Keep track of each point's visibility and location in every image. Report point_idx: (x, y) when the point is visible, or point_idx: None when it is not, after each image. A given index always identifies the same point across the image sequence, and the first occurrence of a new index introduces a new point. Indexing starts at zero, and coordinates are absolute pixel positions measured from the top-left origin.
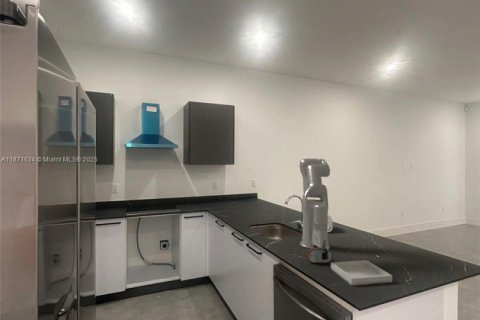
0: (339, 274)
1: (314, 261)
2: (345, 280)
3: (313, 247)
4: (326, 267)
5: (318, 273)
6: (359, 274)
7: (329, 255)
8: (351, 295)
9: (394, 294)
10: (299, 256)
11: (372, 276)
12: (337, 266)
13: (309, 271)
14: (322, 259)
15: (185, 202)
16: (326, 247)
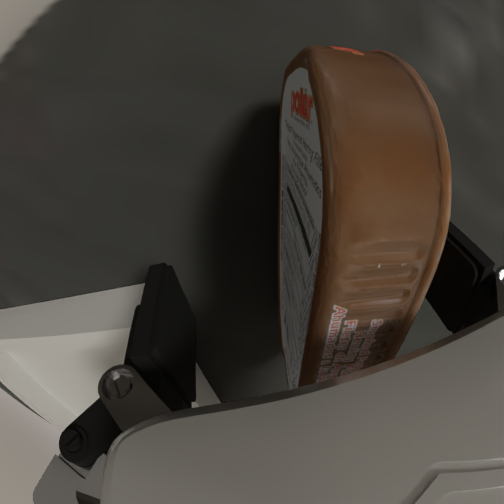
0: (42, 307)
1: (285, 152)
2: (4, 309)
3: (435, 250)
4: (167, 251)
5: (16, 143)
6: (96, 393)
7: (290, 363)
8: None
9: (16, 398)
10: (456, 49)
11: (45, 417)
12: (70, 345)
13: (38, 52)
14: (149, 267)
15: None
16: (60, 488)
